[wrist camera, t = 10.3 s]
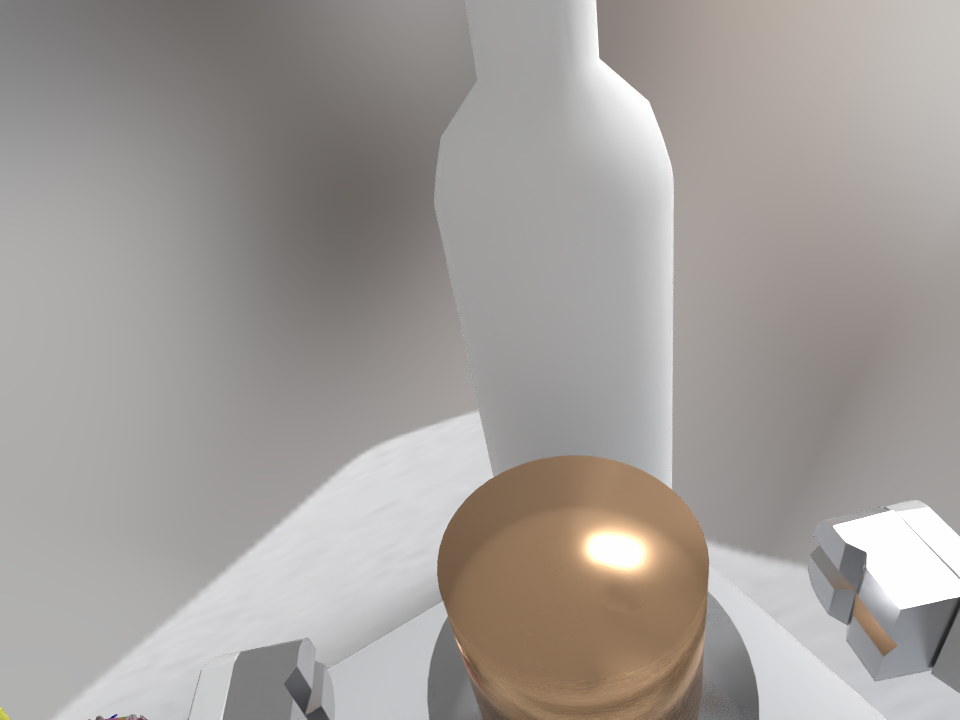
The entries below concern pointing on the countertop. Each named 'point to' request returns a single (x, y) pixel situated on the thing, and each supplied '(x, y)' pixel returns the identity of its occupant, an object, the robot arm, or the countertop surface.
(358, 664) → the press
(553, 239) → the bottle
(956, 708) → the countertop surface
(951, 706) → the countertop surface
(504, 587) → the plunger
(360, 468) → the countertop surface
